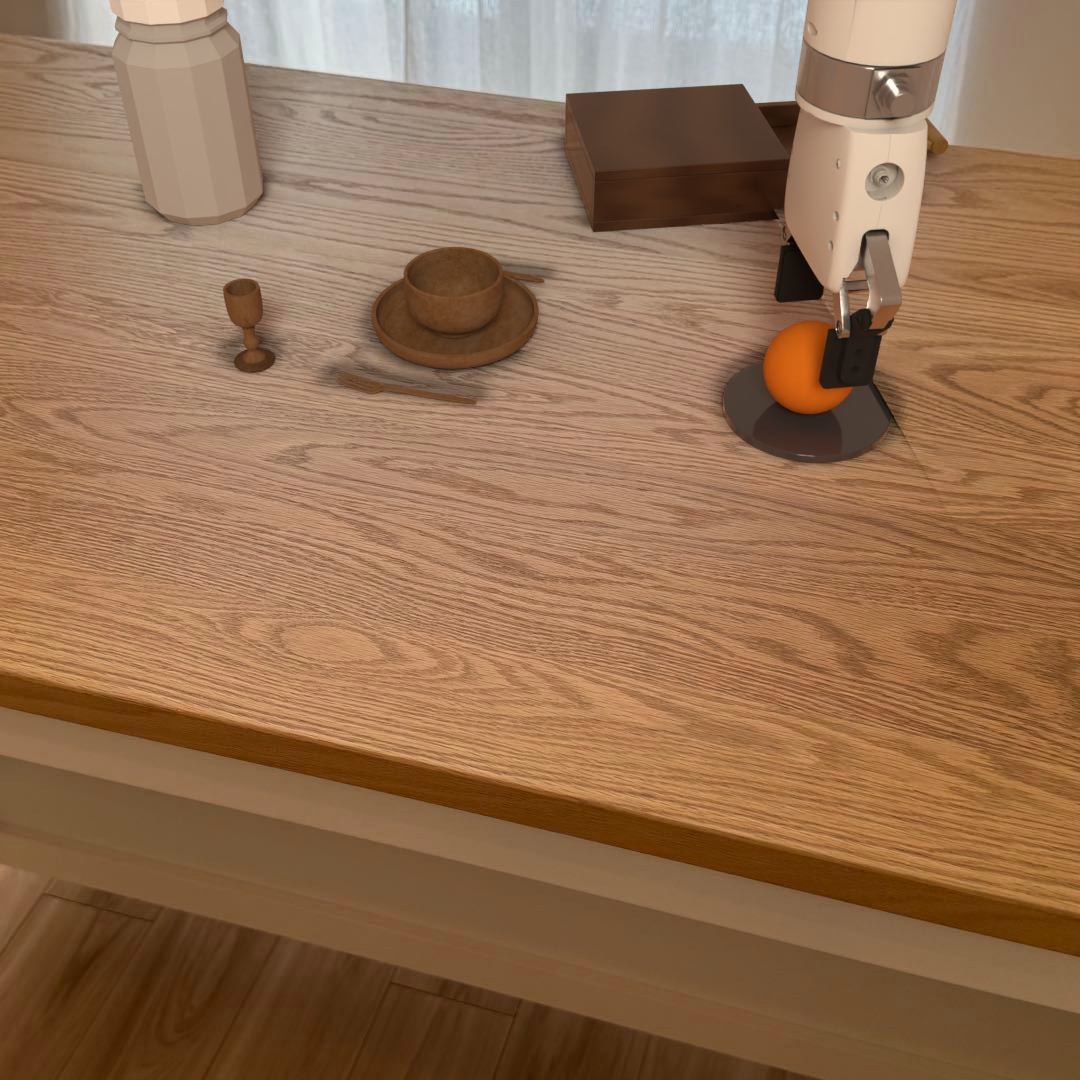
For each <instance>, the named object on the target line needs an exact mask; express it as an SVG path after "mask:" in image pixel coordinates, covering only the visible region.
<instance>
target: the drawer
mask: <svg viewBox="0 0 1080 1080" xmlns="http://www.w3.org/2000/svg"><path fill="white" fill-rule="evenodd" d="M755 104H756V105H757V107H758V108H759V110H760V111H761V113H762V114H763V116H764V118H765V119H766V121H767V122H768V124H769V125H770V127H771V128H772V130H773V132H774V133H775V135H776V136H777V138H778V139H779V141H780V143H781V144H782V146H783V147H784V149H785V150H786V152H787V153H788V155H789V157H791V152H792V147H793V142H794V137H795V132H796V127H797V122H798V117H799V113H800V109H801V107H800V106H799V105H798V103H797V102H796V100H785V101H783V100H782V101H767V102H755ZM925 120H926V123H927V125H928V133H927V151H929V150H930V151H932V153H933V154H935V155H942V154H944V153H945V152H946V151H947V150H948V148H949V142H948V140H947V139H946V138H945V136H944V135H943V134H942V132H940V131H939V130H938V128H937V127H936V126H935V125H934V123H932V121H931V120H930V119H929V118H928V117H927V118H925Z"/></svg>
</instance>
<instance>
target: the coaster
mask: <svg viewBox="0 0 1080 1080" xmlns="http://www.w3.org/2000/svg"><path fill="white" fill-rule="evenodd" d="M763 365H764V360H762V361H759V362H756V363H753V364H750V365H749V366H747V367H745V368H743V369H742V370H739V372H737V373H736V374H735V375H733V376H732V378H731V379H730V380H729V381H728V383H727V385H726V386H725V389H724V391H723V397H722V413H723V416H724V417H725V420H726V423H727V424H728V426H729V427H730V429H732V431H733V432H734V433H735V434H736V435H737V436H738V437H739V438H740V439H742V440H743V441H744V442H745V443H747V444H749V445H750V446H752V447H753V448H755V449H757V450H759V451H761V452H763V453H766V454H769V455H772V456H774V457H776V458H781V459H783V460H787V461H794V462H798V463H807V464H830V463H831V464H832V463H839V462H845V461H849V460H852V459H855V458H858V457H860V456H863V455H866V454H867V453H870V452H871V451H873V450H874V449H875V448H877V446H878V445H879V444H880V443H882V441H884V439H885V437H886V436H887V433H888V432H889V428H890V424H891V420H892V411H891V409H890V407H889V405H888V403H887V402H886V400H885V398H884V397H883V395H882V392H881V391H880V390H879V387H878V386H877V385H876V384H875V383H874V382H873V381H872V382H871V383H870V384H869V385H866V386H856V387H853V388H852V390H851V392H850V393H849V395H848V396H847V397H846V398H845V399H844V400H843V401H842V402H841V403H840V404H838V405H837V406H836V407H834V408H832V409H830V410H828V411H825V412H822V413H817V414H801V413H797V412H794V411H791V410H789V409H787V408H785V407H784V406H782V405H781V404H780V403H778V402H777V401H776V400H775V399H774V397H773V396H772V395H771V393H770V392H769V390H768V388H767V385H766V382H765V379H764V372H763Z"/></svg>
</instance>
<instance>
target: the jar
mask: <svg viewBox="0 0 1080 1080" xmlns="http://www.w3.org/2000/svg"><path fill="white" fill-rule="evenodd" d="M224 1H225V0H108V2H109V6H110V10H111V13H113V14H114V15H116V19H115V22H114V29H115V31H116V32H118V33H117V35H116V38H115V39H114V41H113V46H112V50H111V57H112V63H113V66H114V70H115V75H116V79H117V84H118V88H119V92H120V96H121V100H122V105H123V111H124V114H125V117H126V122H127V127H128V131H129V134H130V139H131V143H132V147H133V152H134V156H135V160H136V161H135V162H136V165H137V169H138V173H139V178H140V183H141V187H142V192H143V195H144V201H145V202H146V203H147V204H148V205H150V206H151V207H152V208H154V210H156V211H157V212H158V213H159V214H161V215H162V216H163V217H164V218H166V219H167V220H168V221H169V222H172V223H178V224H183V225H188V226H191V227H194V226H208V225H209V226H210V225H220V224H222V223H225V222H228V221H231V220H234V219H237V218H240V217H242V216H243V215H245V214H247V212H248V211H250V210H251V209H252V208H253V207H254V206H255V205H256V203H258V201H259V200H260V197H262V195H263V193H264V177H263V171H262V165H261V159H260V158H261V157H260V152H259V147H258V140H257V134H256V128H255V122H254V115H253V109H252V103H251V97H250V90H249V84H248V78H247V71H246V66H245V64H246V63H245V58H244V53H243V45H242V40H241V34H240V33H239V32H238V31H237V30H236V28H234V26H232V25H231V23H229V22H228V9H227V8H225V7H224V4H225V3H224Z"/></svg>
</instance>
